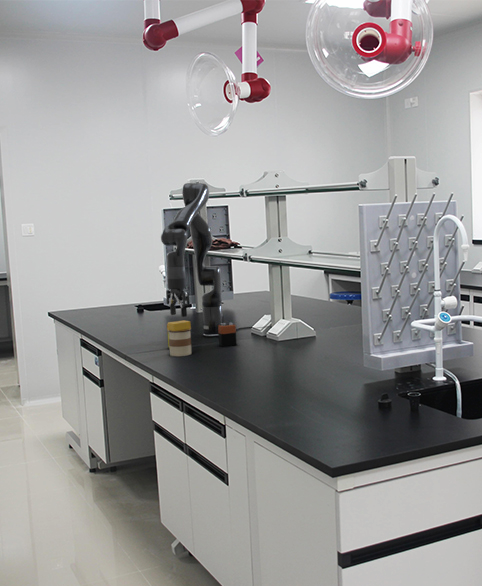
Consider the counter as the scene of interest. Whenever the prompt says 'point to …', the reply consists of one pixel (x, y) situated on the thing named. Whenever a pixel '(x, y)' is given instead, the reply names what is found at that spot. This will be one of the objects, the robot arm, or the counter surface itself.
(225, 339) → the battery
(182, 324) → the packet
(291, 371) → the counter surface
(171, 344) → the striped brown canister
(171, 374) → the counter surface
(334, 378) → the counter surface
